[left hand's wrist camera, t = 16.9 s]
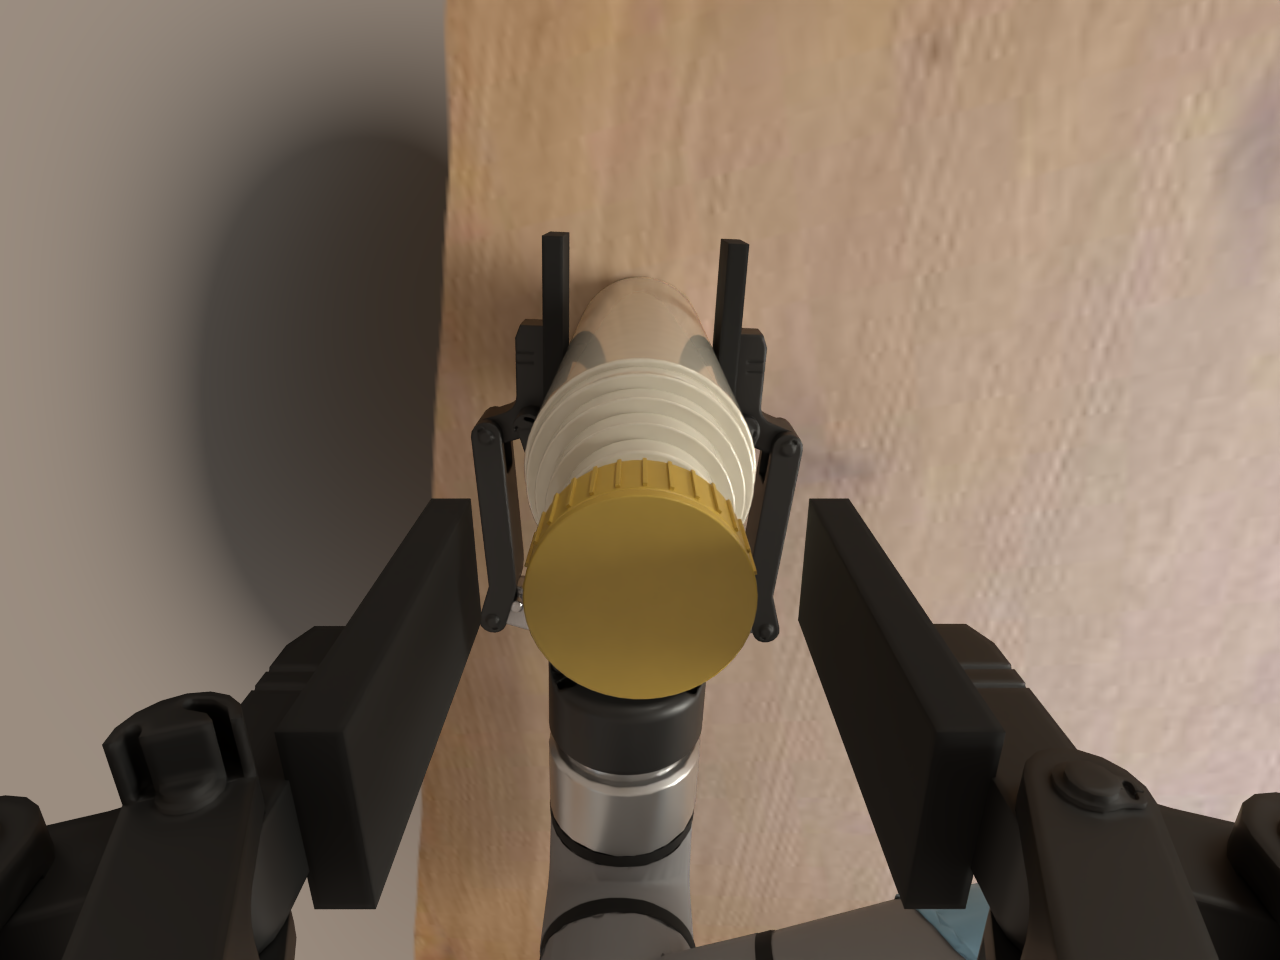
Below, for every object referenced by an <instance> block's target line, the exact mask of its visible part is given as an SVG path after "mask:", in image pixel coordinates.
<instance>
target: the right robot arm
mask: <svg viewBox="0 0 1280 960" xmlns="http://www.w3.org/2000/svg"><path fill="white" fill-rule="evenodd" d="M748 252H749V244H747V243H745V242H743V241H742V240H737V239H721V246H720V259H719V272H718V285H717V297H716V310H715V323H714V336H713V350H714V353H715V355H716V357H717V359H718V361H719V364H720V366H721V368H722V370H723V372H724V375H725V377H726V379H727V381H728V383H729V386H730V388H731V390H732V392H733V394H734V397H735V399H736V401H737V403H738V405H739V408H740V410H741V412H742V414H743V416H744V418H745V421H746V423H747V425H748V428H749V431H750V433H751V436H752V440H753V444H754V448H757V449H759V450H760V455H759V460H758V466H757V471H756V477H755V484H754V493H753V498H752V502H751V507H750V510H749V516H748V521H747V527H746V532H745V533H746V536H747V539H748V542H749V546H750V549H751V554H752V557H753V560H754V564H755V567H756V570H757V575H755V578H756V582H757V593H758V599H757V610H756V615H755V620H754V623H753V626H752V629H751V631H750V633H753V635H754V637H755V638H756V639H757V640H758V641H761V642H770V641H772V640H774V639H775V638H776V637H777V636H778V634H779V625H778V620H777V615H776V610H775V605H774V600H773V593H774V589H775V584H776V579H777V574H778V569H779V564H780V559H781V554H782V549H783V544H784V539H785V535H786V530H787V525H788V520H789V515H790V510H791V505H792V500H793V495H794V490H795V485H796V481H797V476H798V471H799V466H800V461H801V456H802V451H803V445H802V443H801V440H800V439H799V437H798V436H797V434H796V432H795V431H794V429H793V428H792V426H791V425H790V423H789V422H788V421H787V420H786V419H783V418H775V417H773V416H770V415H768V414H766V413H764V412H762V411H761V400H762V391H763V381H764V372H765V362H766V353H767V346H766V343H765V340H764V336H763V334H762V333H761V332H760V331H759V330H758V329H751V328H742V318H743V307H744V296H745V285H746V274H747V263H748ZM542 298H543V320H534V319H525V320H524V321H523V322H522V324H521V325H520V327H519V329H518V332H517V335H516V337H515V347H516V392H517V396H516V400H515V401H514V402H512V403H510V404H507V405H504V406H501V407H497V406H494V407H490V408H489V409H487V410H486V411H485V412H484V414H483V415H482V417H481V418H480V420H479V421H478V422H477V424H476V425H475V427H474V429H473V430H472V433H471V441H472V449H473V457H474V466H475V474H476V482H477V491H478V499H479V507H480V516H481V524H482V532H483V541H484V549H485V557H486V566H487V574H488V582H489V588H488V591H487V595H486V598H485V602H484V605H483V608H482V612H481V617H482V621H481V623H480V624H481V626H482V627H483V628H484V629H485V630H487V631H489V632H499V631H501V630H502V629H504V627H505V626H506V624H509V625H513V626H517V627H520V628H524V629H527V630H529V628H528V625H527V623H526V618H525V614H524V609H523V589H522V586H523V582H524V579H525V576H521V574H522V569H523V561H524V553H523V541H522V531H521V521H520V510H519V500H518V490H517V480H516V470H515V460H514V449H513V440H516V439H519V438H520V440H521V443H522V446H523V449H524V451H525V450H526V445H527V441H528V437H529V434H530V431H531V429H532V426H533V423H534V421H535V419H536V417H537V415H538V412H539V410H540V408H541V406H542V404H543V401H544V399H545V397H546V395H547V393H548V390H549V388H550V386H551V384H552V381H553V379H554V377H555V375H556V373H557V370H558V368H559V366H560V364H561V362H562V359H563V357H564V355H565V353H566V351H567V348H568V346H569V232H549V233H546V234H544V235H542ZM705 685H706V682H704V683H703V684H701V685H699V686H696V687H694V688H692V689H690V690H687V691H684V692H681V693H679V694H675V695H671V696H666V697H661V698H653V699H628V698H619V697H614V696H609V695H605V694H602V693H599V692H596V691H593V690H590V689H588V688H586V687H584V686H582V685H580V684H578V683H576V682H574V681H573V680H571V679H570V678H568V677H566V676H565V675H564V674H563V673H561V672H560V671H559V670H558V669H556V668H555V667H554V666H553V665H552V664H551V663H550V662H549V725H550V730H551V734H550V739H549V768H550V811H551V838H550V869H549V882H548V891H547V898H546V906H545V913H544V921H543V928H542V936H541V945H540V960H977V957H978V953H979V949H980V945H981V941H982V937H983V933H984V929H985V925H986V920H987V916H988V912H989V908H990V907H989V905H988V903H987V901H986V899H985V897H984V895H983V893H982V890H981V888H980V886H979V884H978V883H976V884H971V887H970V892H969V896H968V900H967V905H966V909H904V907H903V904H902V902H901V899H900V896H899V894H896V896H895V899H894V900H890V901H886V902H882V903H879V904H875V905H871V906H867V907H863V908H859V909H856V910H852V911H848V912H844V913H840V914H836V915H833V916H829V917H825V918H821V919H817V920H813V921H810V922H806V923H802V924H798V925H794V926H790V927H787V928H783V929H779V930H769V931H765V932H761V933H755V934H751V935H747V936H742V937H738V938H734V939H730V940H725V941H721V942H717V943H713V944H708V945H704V946H700V947H696V948H695V943H694V940H693V927H692V913H691V899H690V851H691V831H692V820H693V813H694V805H695V801H696V790H697V778H698V766H699V754H700V738H699V737H700V734H701V729H702V719H703V708H704V697H705Z"/></svg>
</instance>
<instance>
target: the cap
mask: <svg viewBox="0 0 1280 960" xmlns="http://www.w3.org/2000/svg"><path fill="white" fill-rule="evenodd" d="M525 567H527V571H526V575H525V579H524V582H523V586H522V589H523V609H524V614H525V618H526V623H527V625H528V628H529V630H530V633H531V636H532V637H533V639H534V641H535V643H536V645H537V646H538V648H539V649H540V651H541V652H542V653H543V655H544V656H545V657H546V659H547V660H548V661H549V662H550V663H551V664H552V665H553V666H554V667H555V668H556V669H558V670H559V671H560V672H561V673H563V674H564V675H565V676H566V677H568V678H570V679H571V680H573V681H574V682H576V683H578V684H580V685H582V686H584V687H586V688H588V689H590V690H593V691H596V692H599V693H602V694H605V695H609V696H614V697H619V698H628V699H653V698H661V697H666V696H671V695H675V694H679V693H681V692H684V691H687V690H690V689H692V688H694V687H696V686H699V685H701V684H703V683H704V682H706V681H708V680H709V679H711V678H712V677H714V676H715V675H716V674H718V673H719V672H720V671H721V670H723V669H724V668H725V667H726V666H727V665H728V664H729V663H730V662H731V661H732V660H733V659H734V658H735V656H736V655H737V654H738V652H739V651H740V650H741V648H742V647H743V645H744V643H745V642H746V640H747V638H748V636H749V634H750V631H751V629H752V626H753V623H754V620H755V615H756V610H757V599H758V593H757V582H756V578H755V575H757V570H756V567H755V564H754V560H753V557H752V554H751V549H750V546H749V542H748V539H747V536H746V533H745V529H744V526H743V523H742V520H741V519H737V516H736V514H735V513H734V510H733V506H732V503H731V501H730V500H729V499H728V500H726V499H725V498H724V497H723V495H722V494H721V493H720V492H719V491H718V490H717V489H716V485H715V484H714V483H713V482H712V483H711V484H710V483H708V482H707V481H706V480H704V479H703V478H702V477H700V476H698V475H696V473H695V471H694V470H692V469H691V471H689V470H687V469H684V468H681V467H679V466H676V465H673V464H672V462H671V461H668V462H667V463H665V462H660V461H652V460H647V458H642V460H628V461H622V460H621V459H619V460H617V462H615V463H611V464H608V465H604V466H601V467H599V468H598V467H597V466H595V467H593V470H591V471H589V472H588V473H586V474H584V475H582V476H580V477H579V478H577V479H576V478H575V477H574V478H573V479H572V480H571V484H569V485H568V486H567V487H566V488H565V489H564V490H563V491H562V492H561V493H560V494H558V493H556V494H555V495H554V498H553V502H552V503H551V505H550V506H549V508H548V510H547V512H544V511H543V512H542V514H541V517H540V521H539V524H538V527H537V531H536V532H535V533H534V536H533V539H532V543H531V546H530V549H529V552H528V556H527V559H526V562H525Z"/></svg>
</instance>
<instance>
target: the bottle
mask: <svg viewBox="0 0 1280 960" xmlns="http://www.w3.org/2000/svg"><path fill="white" fill-rule="evenodd" d="M642 458H647V460H652V461H660V462H665V463H667V462H668V461H671V462H672V464H673V465H676V466H679V467H681V468H684V469H687V470H689V471H691V469H692V470H694V471H695V473H696V475H698V476H700V477H702V478H703V479H704V480H706V481H707V482H708V483H710V484H711V483H712V482H713V483H714V484H715V485H716V489H717V490H718V491H719V492H720V493H721V494H722V495H723V497H724V498H725V499H726V500H728V499H729V500H730V501H731V503H732V506H733V510H734V513H735V514H736V516H737V519H741V520H742V523H743V524H744V522H745V520H746V518H747V515H748V512H749V509H750V507H751V502H752V498H753V493H754V484H755V476H756V457H755V449H754V444H753V440H752V436H751V433H750V431H749V428H748V425H747V423H746V421H745V418H744V416H743V414H742V412H741V410H740V408H739V405H738V403H737V401H736V399H735V397H734V394H733V392H732V390H731V388H730V386H729V383H728V381H727V379H726V377H725V375H724V372H723V370H722V368H721V366H720V364H719V361H718V359H717V357H716V355H715V353H714V350H713V348H712V346H711V344H710V342H709V339H708V337H707V335H706V333H705V331H704V328H703V326H702V324H701V322H700V320H699V317H698V315H697V313H696V311H695V309H694V307H693V306H692V304H691V303H690V302H689V300H688V299H687V298H686V297H685V296H684V295H683V294H682V293H681V292H680V291H679V290H677V289H676V288H675V287H673V286H671V285H670V284H668V283H665V282H663V281H661V280H657V279H654V278H647V277H633V278H626V279H623V280H619V281H617V282H615V283H612V284H610V285H609V286H607V287H605V288H604V289H603V290H601V291H600V292H599V293H598V294H597V295H596V296H595V297H594V298H593V299H592V300H591V302H590V303H589V304H588V306H587V308H586V309H585V311H584V313H583V315H582V318H581V320H580V322H579V324H578V326H577V329H576V331H575V333H574V335H573V337H572V340H571V342H570V344H569V346H568V348H567V351H566V353H565V355H564V357H563V359H562V362H561V364H560V366H559V368H558V370H557V373H556V375H555V377H554V379H553V381H552V384H551V386H550V388H549V390H548V393H547V395H546V397H545V399H544V401H543V404H542V406H541V408H540V410H539V412H538V415H537V417H536V419H535V421H534V423H533V426H532V429H531V431H530V434H529V437H528V441H527V445H526V450H525V459H524V473H525V482H526V491H527V496H528V501H529V506H530V509H531V512H532V515H533V517H534V520H535V522H536V524H537V526H538V524H539V521H540V517H541V514H542V512H543V511H544V512H547V510H548V508H549V506H550V505H551V503H552V502H553V498H554V495H555V494H556V493H558V494H560V493H561V492H562V491H563V490H564V489H565V488H566V487H567V486H568V485H569V484H571V480H572V479H573V478H574V477H575V478H576V479H577V478H579V477H580V476H582V475H584V474H586V473H588V472H589V471H591V470H593V467H595V466H597V467H598V468H599V467H601V466H604V465H608V464H611V463H615V462H617V460H619V459H621V460H622V461H628V460H642Z"/></svg>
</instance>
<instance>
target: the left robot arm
mask: <svg viewBox="0 0 1280 960" xmlns="http://www.w3.org/2000/svg"><path fill="white" fill-rule="evenodd" d="M481 621H482V617H481V606H480V595H479V585H478V574H477V563H476V552H475V541H474V530H473V519H472V509H471V499H431V500H430V501H429V503H428V504H427V506H426V507H425V509H424V510H423V512H422V513H421V515H420V516H419V518H418V519H417V521H416V522H415V524H414V525H413V527H412V528H411V530H410V531H409V533H408V534H407V536H406V537H405V539H404V540H403V542H402V543H401V544H400V546H399V547H398V549H397V550H396V552H395V553H394V555H393V556H392V558H391V559H390V561H389V562H388V564H387V565H386V567H385V568H384V570H383V571H382V573H381V574H380V576H379V577H378V579H377V580H376V582H375V583H374V585H373V586H372V588H371V589H370V591H369V592H368V594H367V595H366V596H365V598H364V599H363V601H362V602H361V604H360V605H359V607H358V609H357V610H356V611H355V613H354V614H353V616H352V617H351V619H350V620H349V622H348V623H347V625H346V626H314V627H313V628H311V629H310V630H308V631H307V632H305V633H304V634H302V635H301V636H299V637H298V638H296V639H295V640H294V641H292V642H291V643H289V644H288V645H286V647H285V648H284V649H283V650H282V652H281V653H280V654H279V656H278V657H277V658H276V660H275V661H274V662H273V663H272V665H271V666H270V668H269V672H265V674H264V675H263V676H262V678H261V679H260V680H259V682H258V683H257V684H256V685H255V690H254V691H253V690H252V691H251V692H250V693H249V694H248V696H247V697H246V698H245V700H244V701H243V702H242V703H241V704H240V703H239V702H237V701H236V700H235V699H234V698H232V697H231V696H230V695H226V694H221V693H215V692H200V693H188V694H184V695H180V696H176V697H173V698H169V699H166V700H162V701H160V702H157V703H155V704H153V705H151V706H149V707H147V708H145V709H143V710H141V711H139V712H136V713H135V714H133V715H132V716H131V717H129V718H128V719H127V720H125V721H124V722H123V723H121V724H120V725H119V726H117V727H116V728H115V729H114V730H113V731H112V733H111V734H110V735H109V737H108V738H107V739H106V740H105V742H104V743H103V744H102V746H103V749H104V752H105V755H106V758H107V761H108V764H109V767H110V770H111V773H112V775H113V778H114V781H115V784H116V787H117V790H118V793H119V796H120V799H121V802H122V807H121V808H118V809H115V810H111V811H108V812H103V813H99V814H95V815H91V816H86V817H82V818H77V819H73V820H69V821H64V822H60V823H56V824H51V825H47V826H46V824H45V821H44V819H43V816H42V813H41V811H40V808H39V806H38V805H37V804H35V803H34V802H32V801H31V800H30V799H28V798H27V797H18V796H6V795H5V796H0V960H294V958H295V947H296V932H295V926H294V920H293V917H292V912H291V909H292V907H293V905H294V902H295V900H296V898H297V896H298V894H299V892H300V890H301V888H302V886H303V884H304V882H305V880H306V878H308V883H309V887H310V892H311V896H312V900H313V905H314V909H376V907H377V904H378V902H379V899H380V896H381V893H382V891H383V888H384V885H385V882H386V880H387V877H388V874H389V872H390V869H391V866H392V863H393V861H394V858H395V855H396V852H397V850H398V847H399V844H400V842H401V839H402V836H403V833H404V831H405V828H406V825H407V822H408V820H409V817H410V814H411V812H412V809H413V806H414V803H415V801H416V798H417V795H418V792H419V790H420V787H421V784H422V782H423V779H424V776H425V773H426V771H427V768H428V765H429V762H430V760H431V757H432V754H433V752H434V749H435V746H436V743H437V741H438V738H439V735H440V733H441V730H442V727H443V724H444V722H445V719H446V716H447V713H448V711H449V708H450V705H451V703H452V700H453V697H454V694H455V692H456V689H457V686H458V683H459V681H460V678H461V675H462V673H463V670H464V667H465V664H466V662H467V659H468V656H469V653H470V651H471V648H472V645H473V643H474V640H475V637H476V634H477V632H478V629H479V626H480V623H481ZM798 621H799V623H800V626H801V629H802V632H803V634H804V637H805V640H806V643H807V645H808V648H809V651H810V653H811V656H812V659H813V662H814V664H815V667H816V670H817V673H818V675H819V678H820V681H821V683H822V686H823V689H824V692H825V694H826V697H827V700H828V703H829V705H830V708H831V711H832V713H833V716H834V719H835V722H836V724H837V727H838V730H839V733H840V735H841V738H842V741H843V743H844V746H845V749H846V752H847V754H848V757H849V760H850V763H851V765H852V768H853V771H854V773H855V776H856V779H857V782H858V784H859V787H860V790H861V792H862V795H863V798H864V801H865V803H866V806H867V809H868V812H869V814H870V817H871V820H872V822H873V825H874V828H875V831H876V833H877V836H878V839H879V842H880V844H881V847H882V850H883V852H884V855H885V858H886V861H887V863H888V866H889V869H890V872H891V874H892V877H893V880H894V882H895V885H896V888H897V891H898V893H899V896H900V899H901V902H902V904H903V907H904V909H966V905H967V900H968V896H969V892H970V887H971V883H972V878H973V874H974V876H975V878H976V880H977V882H978V884H979V886H980V888H981V890H982V893H983V895H984V897H985V899H986V901H987V903H988V905H989V907H990V908H989V912H988V916H987V920H986V925H985V929H984V933H983V937H982V941H981V945H980V949H979V953H978V957H977V960H1280V793H1277V792H1274V793H1263V794H1254V795H1253V796H1252V797H1250V798H1249V799H1247V800H1246V801H1244V802H1243V803H1242V806H1241V808H1240V811H1239V813H1238V816H1237V819H1236V821H1235V823H1234V822H1230V821H1225V820H1221V819H1217V818H1212V817H1208V816H1203V815H1199V814H1195V813H1190V812H1186V811H1182V810H1177V809H1173V808H1169V807H1166V806H1163V805H1159V804H1157V803H1156V801H1155V800H1154V798H1153V797H1152V795H1151V794H1150V792H1149V791H1148V789H1147V788H1146V786H1144V785H1143V784H1142V783H1141V782H1140V781H1138V780H1137V779H1136V778H1135V777H1134V776H1133V775H1131V774H1130V773H1129V772H1128V771H1127V770H1125V769H1123V768H1121V767H1119V766H1117V765H1115V764H1114V763H1112V762H1110V761H1108V760H1106V759H1104V758H1102V757H1099V756H1096V755H1093V754H1090V753H1086V752H1083V751H1080V750H1077V749H1076V748H1075V746H1074V745H1073V744H1072V742H1071V741H1070V740H1069V739H1068V737H1067V736H1066V735H1065V733H1064V732H1063V731H1062V730H1061V728H1060V727H1059V726H1058V724H1057V723H1056V722H1055V721H1054V719H1053V718H1052V717H1051V715H1050V714H1049V713H1048V712H1047V710H1046V709H1045V708H1044V706H1043V705H1042V704H1041V703H1040V701H1039V700H1038V699H1037V698H1036V696H1035V695H1034V694H1033V692H1032V691H1031V690H1030V689H1029V688H1026V686H1025V682H1024V681H1023V680H1022V678H1021V677H1020V676H1019V674H1018V673H1017V672H1016V671H1015V669H1011V664H1010V663H1009V662H1008V660H1007V659H1006V658H1005V656H1004V655H1003V654H1002V653H1001V651H1000V650H999V649H998V647H997V646H996V645H995V644H994V643H993V642H992V641H990V640H989V639H987V638H986V637H985V636H983V635H982V634H980V633H979V632H977V631H976V630H974V629H973V628H971V627H970V626H968V625H967V624H933V623H932V622H931V620H930V619H929V617H928V616H927V614H926V613H925V611H924V610H923V608H922V607H921V605H920V604H919V602H918V601H917V599H916V598H915V596H914V595H913V594H912V592H911V591H910V589H909V588H908V586H907V585H906V583H905V582H904V580H903V579H902V577H901V576H900V574H899V573H898V571H897V570H896V568H895V567H894V565H893V564H892V562H891V561H890V559H889V558H888V556H887V555H886V553H885V552H884V550H883V549H882V547H881V546H880V544H879V543H878V542H877V540H876V539H875V537H874V536H873V534H872V533H871V531H870V530H869V528H868V527H867V525H866V524H865V522H864V521H863V519H862V518H861V516H860V515H859V513H858V512H857V510H856V509H855V507H854V506H853V504H852V503H851V501H850V500H849V499H809V509H808V519H807V530H806V541H805V552H804V563H803V574H802V584H801V595H800V606H799V617H798Z"/></svg>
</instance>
